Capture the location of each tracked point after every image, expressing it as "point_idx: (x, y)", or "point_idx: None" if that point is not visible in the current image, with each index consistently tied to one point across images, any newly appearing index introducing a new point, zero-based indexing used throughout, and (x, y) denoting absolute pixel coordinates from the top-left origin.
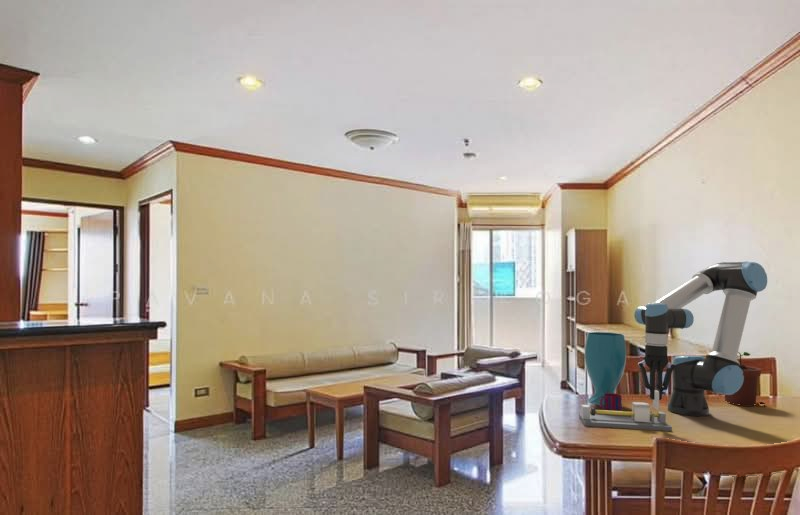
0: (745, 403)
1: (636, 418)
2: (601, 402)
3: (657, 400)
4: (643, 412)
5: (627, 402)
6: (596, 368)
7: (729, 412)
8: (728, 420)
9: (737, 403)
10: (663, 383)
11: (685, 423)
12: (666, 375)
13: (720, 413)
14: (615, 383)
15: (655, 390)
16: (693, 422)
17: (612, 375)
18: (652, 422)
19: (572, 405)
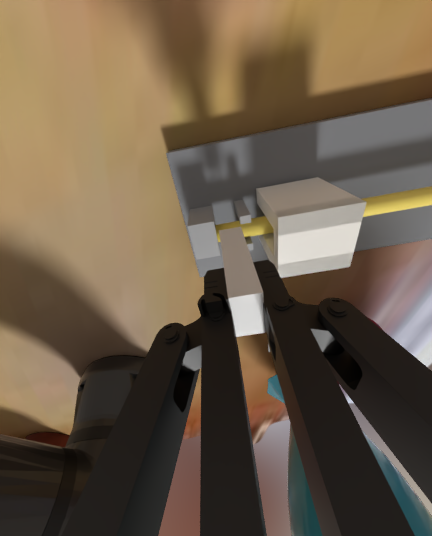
0: (35, 438)
1: (318, 181)
2: (379, 327)
3: (232, 253)
4: (297, 196)
5: (252, 393)
6: (402, 488)
7: (50, 399)
8: (30, 351)
9: (50, 436)
10: (186, 397)
11: (127, 286)
12: (135, 532)
13: (65, 389)
14: None
15: (248, 326)
16: (106, 305)
17: None
18: (241, 199)
19: (401, 340)
